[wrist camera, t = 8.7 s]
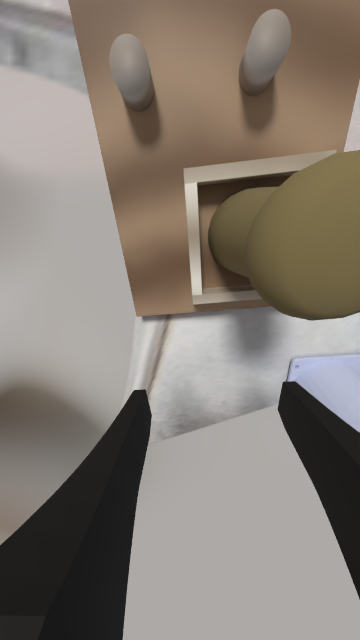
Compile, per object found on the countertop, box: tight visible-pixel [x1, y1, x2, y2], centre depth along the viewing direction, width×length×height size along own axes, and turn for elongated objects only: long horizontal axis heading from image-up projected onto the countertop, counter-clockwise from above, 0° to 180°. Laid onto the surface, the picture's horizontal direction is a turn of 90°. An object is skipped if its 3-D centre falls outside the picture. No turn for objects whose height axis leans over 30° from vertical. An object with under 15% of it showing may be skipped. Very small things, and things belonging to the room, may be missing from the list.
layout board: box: [68, 0, 360, 317], centre depth 13 cm, size 20×16×3 cm
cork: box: [208, 150, 360, 320], centre depth 10 cm, size 6×6×11 cm
